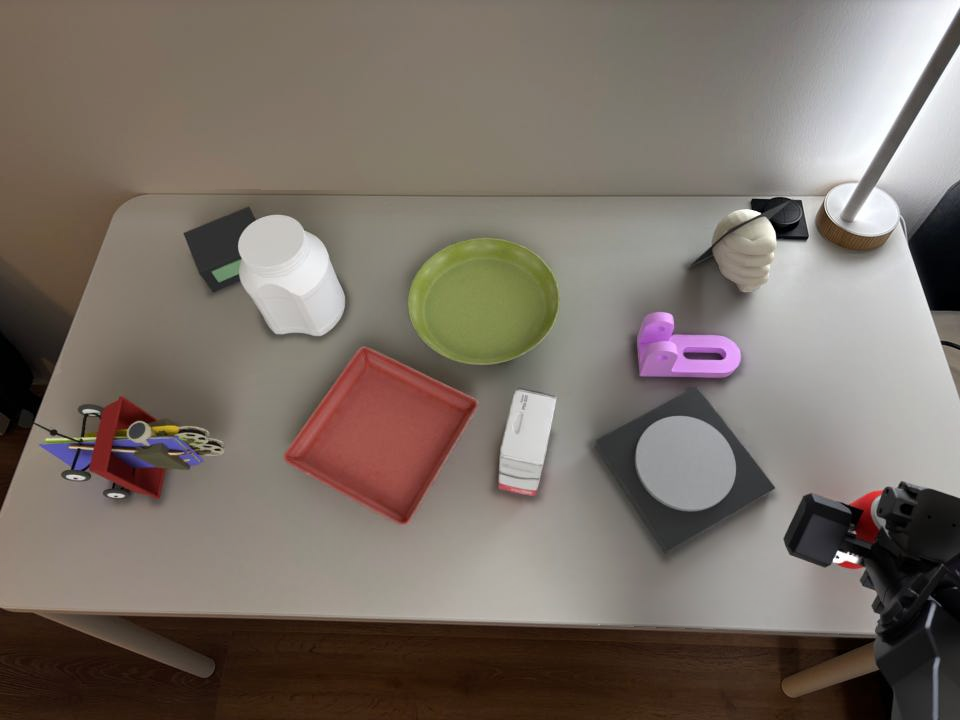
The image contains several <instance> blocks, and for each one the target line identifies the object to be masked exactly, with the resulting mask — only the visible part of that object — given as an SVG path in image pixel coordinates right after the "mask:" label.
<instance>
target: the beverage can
mask: <svg viewBox="0 0 960 720" xmlns="http://www.w3.org/2000/svg"><path fill="white" fill-rule="evenodd" d="M883 490H884V489H882V490H881V489H880V490H874V491H870V492H868V493H866V494H865V495H862V496H861V497H860V498H858V499H855V500H854V501H853V502H851V503H849V504H848V505H850V506H853V507H856V508H859V509H862V510H864V512H863V514H862V516H861V518H860V520H859V521H858V523H857V525H856V527H855V529H854V531H856V533H857V536H856V537H857V538H860V539H862V540H865V541H868V542H871V543H874V540H875V538H876V536H877V534H878V532H879V530H880V528H881V526H885V524H886V521H885V519H883V518H880V517H878V516H877V513H876V510H877V507H878V504H879V501H880V498H881V495H882V492H883ZM845 552H846V551H845ZM858 556H859V555H858ZM834 564H835V565H837V566H839V567H841V568H844V569H849V570H859V569H863V568H864V567H863V566H860V565H857V564H854V563H852V562H849V561H844V562H842V563H840V564H836V563H834Z"/></svg>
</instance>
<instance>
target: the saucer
mask: <svg viewBox="0 0 960 720" xmlns="http://www.w3.org/2000/svg"><path fill="white" fill-rule="evenodd" d="M560 303H561V297H560V289H559V284H558V281H557V279H556V277H555V274H554V273H553V271H552V270H551V268H550V266H549V265H548V264H547V263H546V262H545V261H544V260H543V259H542V257H540V256H539V255H538V254H537V253H535V252H534V251H532V250H530V249H529V248H527V247H526V246H524V245H521V244H520V243H516V242H513V241H510V240H506V239H502V238H494V237H493V238H492V237H479V238H471V239H465V240H462V241H458V242H454V243H453V244H450V245H448V246H446V247H444V248H442V249H440V250H439V251H437V252H436V253H434V254H433V255H431V256H430V257H429V258H427V260H426V261H425V262H423V264H422V265H421V266H420V268H419V269H418V271H417V273H416V274H415V275H414V278H413V280H412V282H411V284H410V287H409V291H408V298H407V311H408V315H409V319H410V322H411V325H412V327H413V329H414V331H415V332H416V334H417V335H418V336H419V338H420V339H421V340H422V341H423V343H424V344H426V345H427V346H428V347H429V348H430V349H431V350H432V351H434V352H436V353H438V354H439V355H441V356H442V357H444V358H447V359H449V360H452V361H454V362H457V363H461V364H467V365H474V366H490V365H497V364H501V363H507V362H510V361H513V360H515V359H517V358H520V357H522V356H524V355H526V354H527V353H529V352H530V351H532V350H533V349H534V348H536V347H537V346H538V345H540V343H541V342H542V341H544V340H545V338H546V337H547V336H548V335H549V334H550V332H551V330H552V329H553V327H554V325H555V323H556V321H557V318H558V315H559V311H560Z"/></svg>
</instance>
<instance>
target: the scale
mask: <svg viewBox="0 0 960 720" xmlns="http://www.w3.org/2000/svg"><path fill="white" fill-rule="evenodd" d="M594 448H595V450H596V451H597V453H598V454H599V456H600V458H601V459H602V460H603V462H604V463H605V465H606V466H607V468H608V470H609V471H610V473H611V474H612V476H613V477H614V479H615V480H616V482H617V483H618V485H619V487H620V488H621V489H622V491H623V492H624V494H625V496H626V497H627V498H628V500H629V501H630V503H631V504H632V506H633V508H634V509H635V510H636V512H637V514H638V515H639V517H640V518H641V520H642V522H644V524H645V526H646V527H647V529H648V530H649V532H650V534H651V535H652V536H653V538H654V540H655V541H656V543H657V545H658V546H659V547H660V549H661V550H662V552H663V554H664V555H666V554H668V553H670V552H671V551H673V550H675V549H677V548H679V547H681V546H682V545H684V544H686V543H687V542H689V541H690V540H692V539H694V538H695V537H697V536H699V535H701V534H702V533H705V532H706V531H707V530H709V529H711V528H712V527H714V526H716V525H718V524H719V523H721V522H723V521H724V520H727V519H728V518H730V517H731V516H733V515H735V514H737V513H739V512H740V511H741V510H743V509H745V508H746V507H748V506H750V505H752V504H753V503H755V502H757V501H758V500H760V499H762V498H764V497H765V496H767V495H769V494H770V493H771V492H773V491H774V490H775V489H776V486H775V485H774V484H773V483H772V481H771V480H770V479H769V477H768V476H767V475H766V474H765V472H764V471H763V469H762V468H761V467H760V466H759V464H758V463H757V462H756V460H755V459H754V458H753V456H752V455H751V454H750V452H748V450H747V449H746V448H745V446H744V445H743V444H742V443H741V441H740V440H739V439H738V437H737V436H736V435H735V433H734V431H732V429H730V427H729V426H728V424H727V423H726V422H725V421H724V419H723V418H722V417H721V415H720V414H719V413H718V412H717V410H716V409H715V407H713V405H712V403H711V402H710V401H709V400H708V398H707V397H706V396H705V395H704V394H703V392H702V391H701V390H700V388H699V387H698V386H695V387H693V388H691V389H689V390H686V392H683V393H682V394H679V395H678V396H675V397H674V398H672V399H670V400H669V401H667V402H665V403H663V404H661V405H660V406H658V407H655V408H653V409H652V410H650V411H648V412H646V413H644V414H643V415H640V416H639V417H637V418H635V419H633V420H631V421H629V422H627V423H625V424H624V425H622V426H620V427H618V428H617V429H614V430H613V431H610V432H609V433H607V434H605V435H603V436H601V437H600V438H598V439H596V441H595V444H594Z"/></svg>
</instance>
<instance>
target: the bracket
mask: <svg viewBox="0 0 960 720" xmlns="http://www.w3.org/2000/svg"><path fill="white" fill-rule="evenodd" d="M674 321H675V320H674V316H673V315H672V314H671V313H668V312H664V311H656V312H651V313H649V314H647V315H646V316H645V317H643V320H642V323H641V325H640V327H639V328H640V329H639V331H638V333H637V337H636V348H637V359H638V360H637V361H638V362H637V363H638V374H639V377H663V378H669V377H670V378H674V377H675V378H716V379H721V378H726V377H728V376H730V375H732V374H733V373H734V372H735V371H736V370H737V368H738V367H739V365H740V363H741V360H742V354H741V350H740V348H739V346H738V345H737V343H735V342H734V341H733V340H732V339H730V338H729V337H726V336H723V335H718V334H717V335H715V334H713V335H712V334H673V332H674V330H675V323H674ZM684 353H708V354H709V353H712V354H715V353H716V354H719V355H720V356H721V357H722V359H690V358H687V357H686V356H685V355H684Z"/></svg>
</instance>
